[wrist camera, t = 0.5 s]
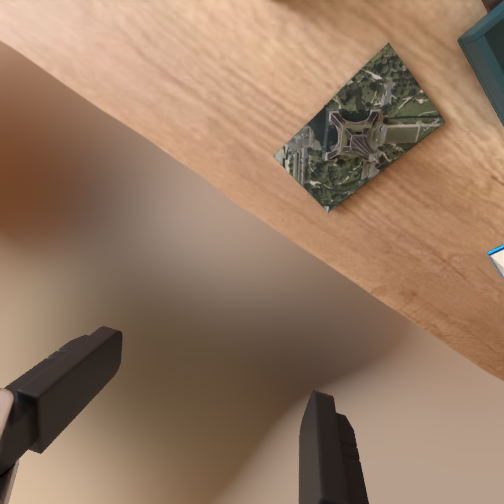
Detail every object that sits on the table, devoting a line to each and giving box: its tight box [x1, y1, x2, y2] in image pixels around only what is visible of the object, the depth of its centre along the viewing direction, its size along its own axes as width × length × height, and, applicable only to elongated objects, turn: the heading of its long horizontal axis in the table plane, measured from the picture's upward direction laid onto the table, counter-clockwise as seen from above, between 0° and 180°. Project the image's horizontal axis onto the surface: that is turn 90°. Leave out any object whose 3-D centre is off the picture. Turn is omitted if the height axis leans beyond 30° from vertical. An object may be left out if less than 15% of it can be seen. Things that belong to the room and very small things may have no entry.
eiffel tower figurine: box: [273, 43, 445, 213], centre depth 25 cm, size 15×10×13 cm
